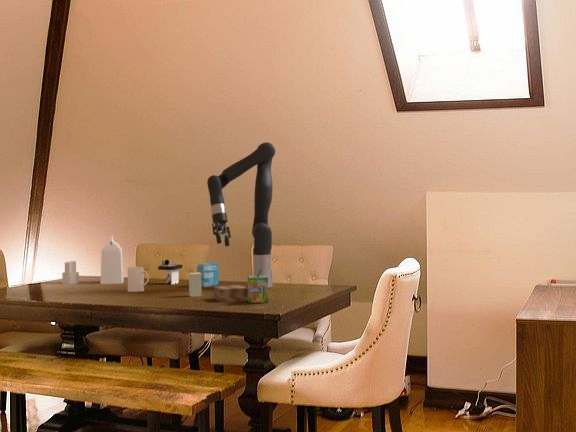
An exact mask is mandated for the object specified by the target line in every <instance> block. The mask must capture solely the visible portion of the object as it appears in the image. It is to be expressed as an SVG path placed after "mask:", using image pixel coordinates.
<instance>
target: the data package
mask: <svg viewBox="0 0 576 432" xmlns="http://www.w3.org/2000/svg"><path fill="white" fill-rule="evenodd" d="M197 272H199V273H201V286H202V288H206V287H207V288H208V287H214V286H218V285H219V263H216V262H205V263H198V264H197V265H196V273H197Z"/></svg>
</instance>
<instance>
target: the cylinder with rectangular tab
mask: <svg viewBox="0 0 576 432" xmlns="http://www.w3.org/2000/svg"><path fill="white" fill-rule="evenodd" d="M61 273H62V274H61V276H62V281H61V283H62V285H76V284H80V272H79V271H77V261H76V260H71V261H66V262H64V272H61Z"/></svg>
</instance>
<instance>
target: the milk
mask: <svg viewBox="0 0 576 432" xmlns="http://www.w3.org/2000/svg"><path fill="white" fill-rule="evenodd" d="M100 255H101V256H100V285H106V284H107V285H113V284H116V285H117V284H118V285H119V284H123V283H124V281H125V280H124V277H125V276H124V260H123V259H124V258H123V248H122V247H121V245H120V243H119V242H117V241H115V240H114V236H113V235H110V236H109V242H108V243H107V244H105V246H104V247H102V249H101V253H100Z"/></svg>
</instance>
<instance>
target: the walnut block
mask: <svg viewBox="0 0 576 432" xmlns="http://www.w3.org/2000/svg"><path fill="white" fill-rule="evenodd" d="M213 299H214V300H216V301H217V302H220V303H227V302H228V303H229V302H230V303H231V302H243V301H246V300H247V287H246V286H243V285H242V284H237V285H219V286H218V285H215V286H213ZM247 301H248V300H247Z"/></svg>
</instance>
